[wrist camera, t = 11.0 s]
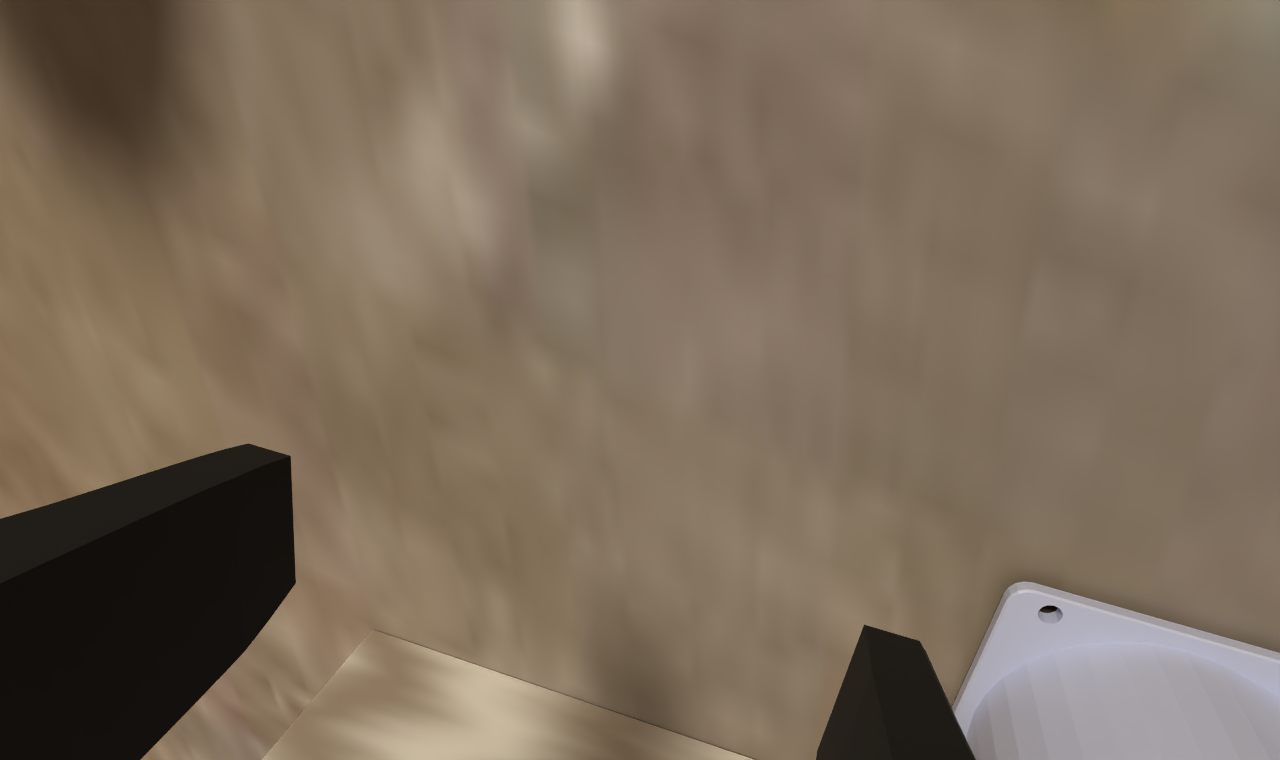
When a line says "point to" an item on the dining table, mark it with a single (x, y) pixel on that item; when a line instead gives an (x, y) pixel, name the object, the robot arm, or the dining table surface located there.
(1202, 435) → the dining table surface
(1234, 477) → the dining table surface
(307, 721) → the wall board
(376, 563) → the dining table surface
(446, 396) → the dining table surface
